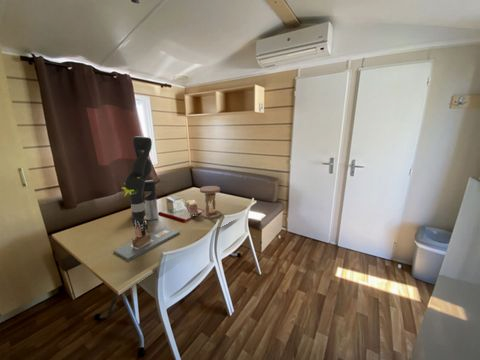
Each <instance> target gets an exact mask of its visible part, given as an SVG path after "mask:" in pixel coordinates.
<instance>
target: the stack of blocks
mask: <svg viewBox="0 0 480 360" xmlns="http://www.w3.org/2000/svg"><path fill="white" fill-rule="evenodd" d="M185 207H186V208H187V209H186V211H187V210H188V211H187V213H188V212H189V213H190V215H189V217H190V216H193V215H194V216H196V217H198V215H199V214H198V203H197V202H196V201H195V199H189V200H185ZM189 213H188V214H189Z"/></svg>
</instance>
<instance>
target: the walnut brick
mask: <svg viewBox="0 0 480 360" xmlns="http://www.w3.org/2000/svg"><path fill="white" fill-rule="evenodd" d="M150 233H151V232H147V235H145V236H142V237H140V238H139V237H137V236H135V237H133V238H131V240H132V241H131V242H132V243H133V247H137V248H140V247H141V246H143V245H144V244H146V243H147V242H149V241H150V240H151V236H150Z"/></svg>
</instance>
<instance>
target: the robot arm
mask: <svg viewBox="0 0 480 360" xmlns="http://www.w3.org/2000/svg"><path fill="white" fill-rule="evenodd" d="M152 144H153V143H152V139H151V138H150V137H148V136H141V135H139V136H138V135H137V136H134V137H133V139H132V146H133V149H134V153H135V157H136V159H135V160H134V161H133V163H132V166H131V170H130V172H129V175H128V176H127V178H125V181H124V183H125V184H124V186H125V187H126V188H127V189H128V190H138V192H136V193H133V194H131V195H129V198H130V199H129V200H130V211H131V222H132V225H133V228H137V227H140V228H141V232H142V236H144V235H146V232H145V230H146V229H147V230H148V227H149V225H148V224H149V223H148V222H149V221H154V220H157V219H159V211H158V201H157V193H156V181H155V180H154V179H149V180H146V179H147V178H148V177H149V176H150V174H151V173H152V170H153V169H152V168H153V167H152V162H151V160H150V159H149V155H150V152H151V150H152V146H153V145H152ZM138 177H139V178H138ZM147 192H149V193H148V194H146V195H145V196H144V193H147ZM141 225H142V226H141ZM142 227H143V228H142Z"/></svg>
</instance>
